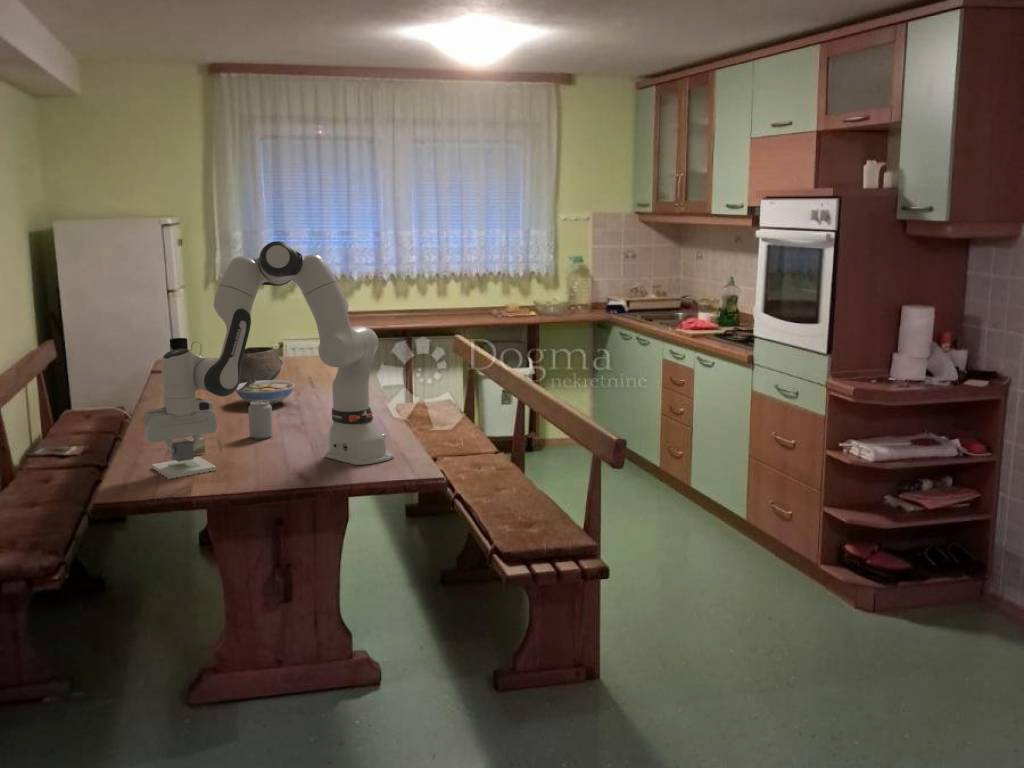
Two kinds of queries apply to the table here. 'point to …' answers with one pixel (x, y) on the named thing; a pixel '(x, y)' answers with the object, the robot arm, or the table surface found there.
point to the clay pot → (260, 364)
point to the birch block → (198, 445)
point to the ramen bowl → (265, 390)
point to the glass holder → (180, 344)
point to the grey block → (183, 450)
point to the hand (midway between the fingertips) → (182, 451)
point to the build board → (183, 467)
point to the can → (260, 419)
